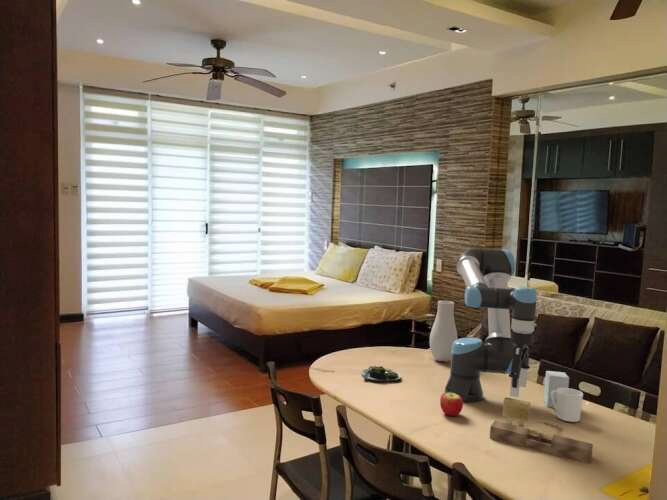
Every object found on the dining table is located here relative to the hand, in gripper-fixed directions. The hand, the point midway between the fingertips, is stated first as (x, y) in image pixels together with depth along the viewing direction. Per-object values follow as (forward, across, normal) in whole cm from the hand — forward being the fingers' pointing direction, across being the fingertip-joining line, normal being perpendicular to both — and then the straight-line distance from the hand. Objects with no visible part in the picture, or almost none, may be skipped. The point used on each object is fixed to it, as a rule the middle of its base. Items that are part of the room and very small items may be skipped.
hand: (518, 391), depth 182 cm
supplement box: (+12, +32, -9) cm, 36 cm away
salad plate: (+13, +20, +62) cm, 66 cm away
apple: (+13, -4, +22) cm, 26 cm away
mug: (+13, +20, -14) cm, 27 cm away
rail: (+13, -12, -10) cm, 20 cm away
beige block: (+13, 0, 0) cm, 13 cm away
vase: (+12, +64, +48) cm, 81 cm away
